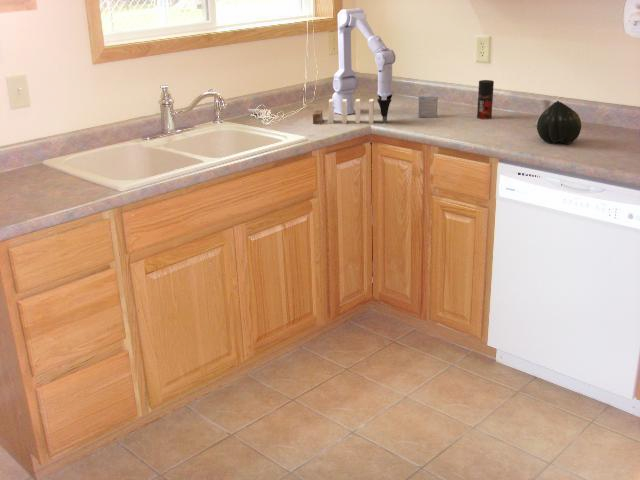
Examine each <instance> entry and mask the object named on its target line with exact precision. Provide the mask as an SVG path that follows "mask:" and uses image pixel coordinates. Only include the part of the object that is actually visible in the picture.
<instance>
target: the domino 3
mask: <svg viewBox="0 0 640 480" xmlns="http://www.w3.org/2000/svg"><path fill="white" fill-rule="evenodd" d="M354 102H355V103H354V104H355V105H354V106H355V107H354V111H355V112H356V113H355V124H360V123H361V98H355V100H354Z"/></svg>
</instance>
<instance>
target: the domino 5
mask: <svg viewBox="0 0 640 480" xmlns="http://www.w3.org/2000/svg"><path fill="white" fill-rule="evenodd" d="M387 123H388V115H387V116H382V124H387Z"/></svg>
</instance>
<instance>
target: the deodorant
mask: <svg viewBox="0 0 640 480" xmlns="http://www.w3.org/2000/svg"><path fill="white" fill-rule="evenodd" d="M494 82H495V81H494V80H492V79H491V80H490V79H489V80H488V79H481V80H478V92H477V93H478V94H477V112H476V119H479V120H490V119H492V116H493V99H494Z"/></svg>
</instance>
